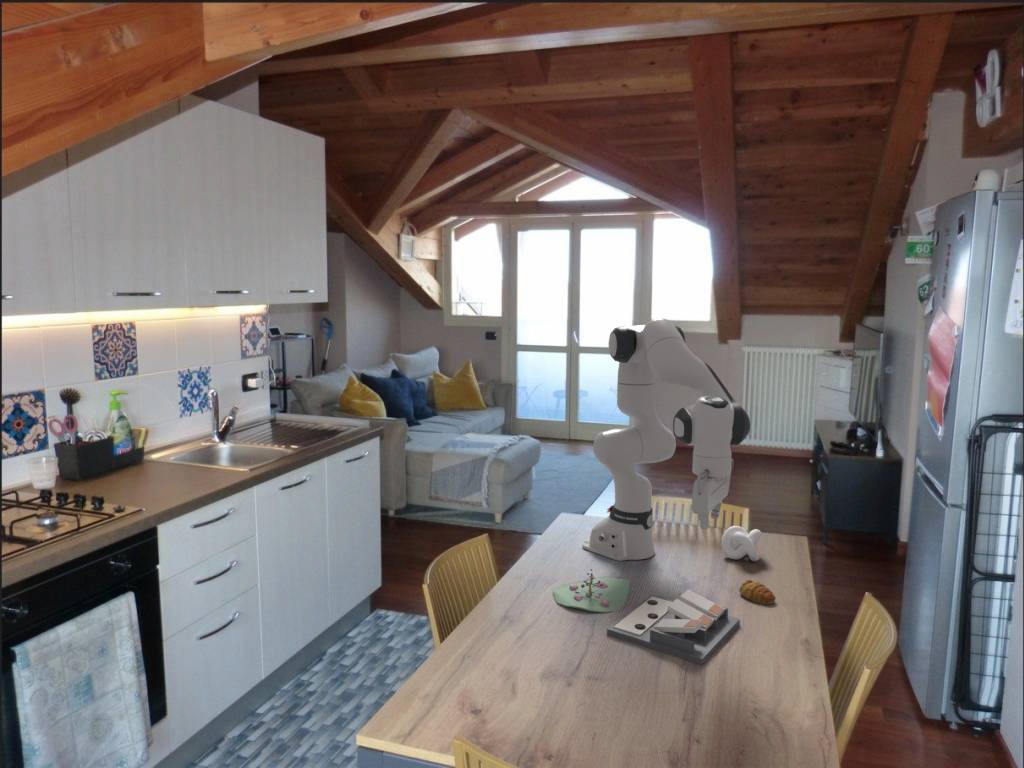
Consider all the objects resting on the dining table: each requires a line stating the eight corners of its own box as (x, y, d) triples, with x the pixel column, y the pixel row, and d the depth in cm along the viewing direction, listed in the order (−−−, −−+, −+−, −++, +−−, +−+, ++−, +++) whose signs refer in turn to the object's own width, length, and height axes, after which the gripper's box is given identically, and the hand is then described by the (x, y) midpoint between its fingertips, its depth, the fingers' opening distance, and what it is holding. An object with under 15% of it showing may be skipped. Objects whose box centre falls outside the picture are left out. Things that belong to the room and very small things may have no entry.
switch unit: (606, 634, 187) (607, 619, 186) (650, 599, 206) (651, 585, 206) (702, 665, 173) (702, 648, 172) (739, 624, 192) (740, 609, 192)
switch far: (678, 600, 193) (680, 595, 193) (687, 593, 197) (688, 588, 197) (715, 620, 188) (717, 615, 187) (723, 612, 192) (725, 608, 191)
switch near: (655, 631, 182) (653, 626, 182) (664, 623, 186) (663, 618, 186) (694, 632, 176) (693, 627, 176) (703, 624, 180) (702, 619, 180)
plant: (582, 571, 226) (582, 542, 225) (648, 587, 215) (650, 556, 214) (539, 603, 205) (539, 570, 204) (610, 622, 194) (611, 588, 193)
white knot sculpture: (771, 564, 230) (773, 535, 229) (733, 567, 228) (734, 537, 227) (754, 550, 241) (755, 523, 240) (717, 552, 240) (718, 525, 238)
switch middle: (666, 610, 187) (668, 605, 187) (675, 602, 191) (677, 598, 191) (704, 631, 182) (706, 626, 182) (712, 623, 186) (714, 618, 186)
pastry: (781, 602, 206) (782, 588, 205) (764, 608, 202) (764, 594, 201) (752, 589, 213) (753, 576, 213) (735, 595, 210) (736, 581, 209)
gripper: (713, 477, 172) (711, 537, 174) (735, 459, 190) (733, 514, 192) (685, 474, 175) (684, 533, 177) (709, 456, 193) (708, 510, 195)
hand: (710, 523), depth 184 cm, fingers open, 8 cm apart
